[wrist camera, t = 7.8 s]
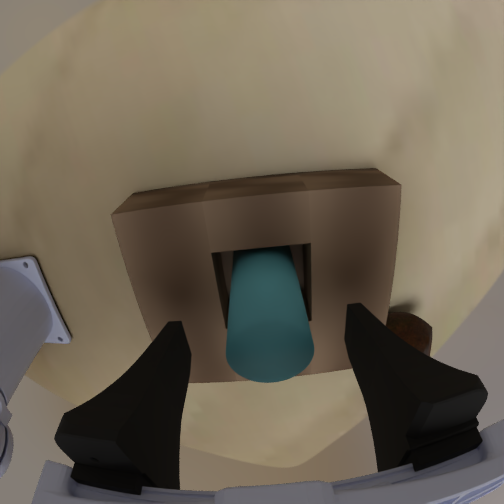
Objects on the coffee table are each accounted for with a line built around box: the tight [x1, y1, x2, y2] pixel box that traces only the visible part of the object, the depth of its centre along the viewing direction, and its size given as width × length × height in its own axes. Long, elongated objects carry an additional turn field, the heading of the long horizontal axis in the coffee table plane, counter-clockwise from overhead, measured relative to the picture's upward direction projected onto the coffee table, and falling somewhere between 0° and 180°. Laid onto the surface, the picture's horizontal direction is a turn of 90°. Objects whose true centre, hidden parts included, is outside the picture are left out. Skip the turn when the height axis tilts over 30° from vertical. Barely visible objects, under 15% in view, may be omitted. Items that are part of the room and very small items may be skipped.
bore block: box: [111, 168, 401, 383], centre depth 19 cm, size 14×12×4 cm
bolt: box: [386, 312, 432, 357], centre depth 23 cm, size 6×5×15 cm
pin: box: [226, 245, 314, 383], centre depth 15 cm, size 3×3×8 cm
